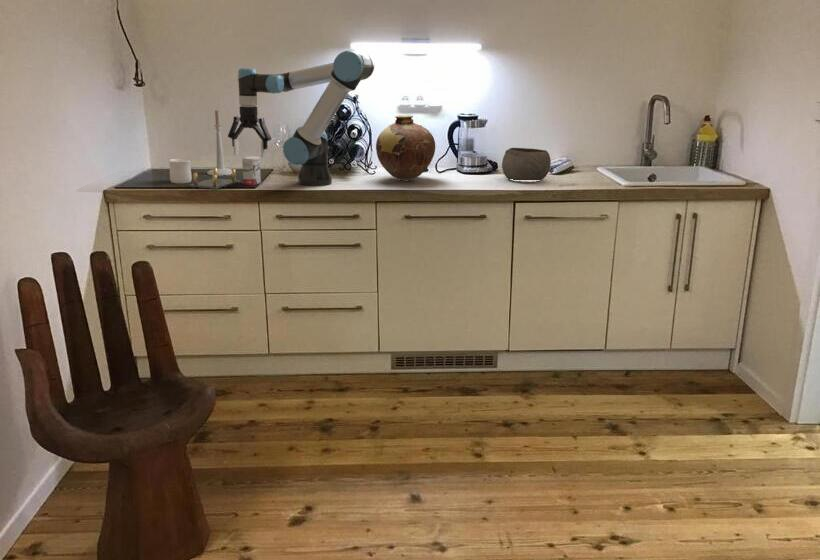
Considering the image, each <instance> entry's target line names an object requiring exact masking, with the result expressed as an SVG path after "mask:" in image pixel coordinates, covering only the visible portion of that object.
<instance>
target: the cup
mask: <svg viewBox="0 0 820 560" xmlns="http://www.w3.org/2000/svg"><path fill="white" fill-rule="evenodd" d="M168 162H169V180H170V182H171V183H172V184H188V183H189V184H190V183H191V182H192V179H193V177H192V176H193V175H192V170H191V159H187V158H178V157H177V158H171V159H169V160H168Z"/></svg>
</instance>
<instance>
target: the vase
mask: <svg viewBox="0 0 820 560" xmlns="http://www.w3.org/2000/svg"><path fill="white" fill-rule="evenodd" d="M413 117H414V115H411V114H398V115H394V118H395V121H394V123H392V124H389V125H388V126H386V127H385V128H384V129H383V130H382V131H380V133H379V135H378V136H377V139H376V142H375V143H376V144H375V151H376V157H377V159H378V162H379V163H380V164H381V166H382V168H383V169H384V170H385V171H386V172H387V173H388V174H389V175H390V176H391V177H394V178H395V179H397V180H399V179H400V180H399V181H402V180H410V181H412V179H413V180H416V179H417V178H418V177H420V176H421V175H422V174H423V173H424V172H425V171H426V169H427V168H428V167H429V166H430V164H431V162H432V161H433V158H434V156H435V153H436V140H435V138H434V136H433V134H432V132H430V130H429V129H427V128H425V127H424V126H422V125H421V124H418V123H415V122H414V119H413Z"/></svg>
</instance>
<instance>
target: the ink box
mask: <svg viewBox="0 0 820 560" xmlns="http://www.w3.org/2000/svg"><path fill="white" fill-rule="evenodd" d="M260 160H261V159H260V156H252V155H249V156H246V157H242V159H241V161H242V162H241V164H242V182H243V183H242V184H243V186H255V184H256V185H258V184H261V182H262V181H261V180H262V179H261V164H260V163H261V161H260Z"/></svg>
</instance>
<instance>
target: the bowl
mask: <svg viewBox="0 0 820 560" xmlns="http://www.w3.org/2000/svg"><path fill="white" fill-rule="evenodd" d="M551 162H552V160H551V155H550V153H549V152H548V151H547V150H545V149H544V150H543V149H539V148H530V147H529V148H525V147H510V148H508V149H507V150H505V152H504V155H503V157H502V162H501V168H502V172H503V174H504V177H505V178H506V179H507V178H508V179H513V180H541V179H543V180H544V179H545V178H546V177H547V176H548V174H549V172H550V170H551V166H552V165H551V164H552V163H551ZM508 179H507V180H508ZM541 181H542V180H541Z"/></svg>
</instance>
